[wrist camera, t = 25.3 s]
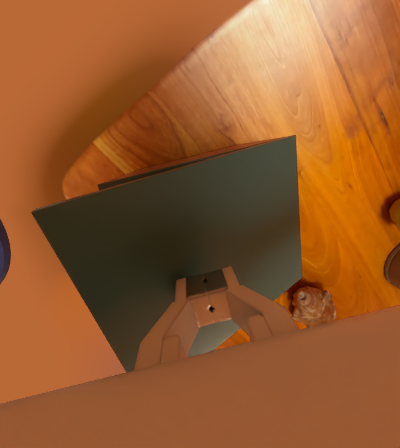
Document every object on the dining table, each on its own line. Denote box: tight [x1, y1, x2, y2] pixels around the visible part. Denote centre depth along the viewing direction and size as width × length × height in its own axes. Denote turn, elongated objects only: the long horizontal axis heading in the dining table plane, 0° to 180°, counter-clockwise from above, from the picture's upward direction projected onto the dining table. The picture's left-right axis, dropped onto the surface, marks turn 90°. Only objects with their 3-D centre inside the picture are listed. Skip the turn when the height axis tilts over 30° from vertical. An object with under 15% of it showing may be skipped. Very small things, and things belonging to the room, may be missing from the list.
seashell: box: [292, 286, 336, 328], centre depth 34 cm, size 9×8×10 cm
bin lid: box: [32, 135, 302, 372], centre depth 12 cm, size 14×12×1 cm
